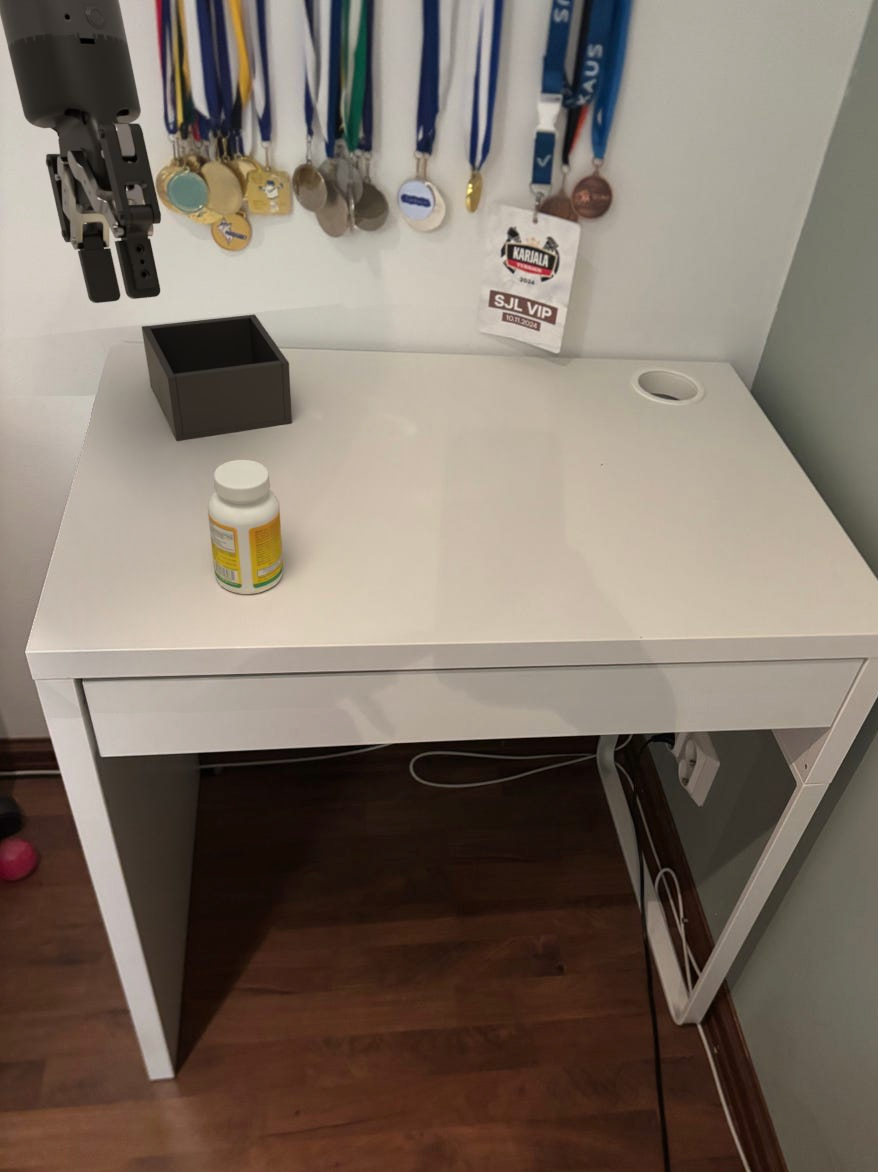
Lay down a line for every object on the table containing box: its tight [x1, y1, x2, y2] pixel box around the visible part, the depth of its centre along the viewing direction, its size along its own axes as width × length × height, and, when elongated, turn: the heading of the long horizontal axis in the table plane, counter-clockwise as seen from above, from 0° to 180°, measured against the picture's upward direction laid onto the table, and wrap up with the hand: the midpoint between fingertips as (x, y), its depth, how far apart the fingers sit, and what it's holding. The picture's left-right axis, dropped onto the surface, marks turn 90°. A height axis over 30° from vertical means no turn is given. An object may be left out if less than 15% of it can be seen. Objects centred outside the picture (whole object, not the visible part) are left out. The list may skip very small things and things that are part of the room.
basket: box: [141, 313, 293, 441], centre depth 95 cm, size 11×11×6 cm
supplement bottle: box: [207, 459, 284, 595], centre depth 74 cm, size 5×5×10 cm
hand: (124, 300), depth 69 cm, fingers open, 8 cm apart
